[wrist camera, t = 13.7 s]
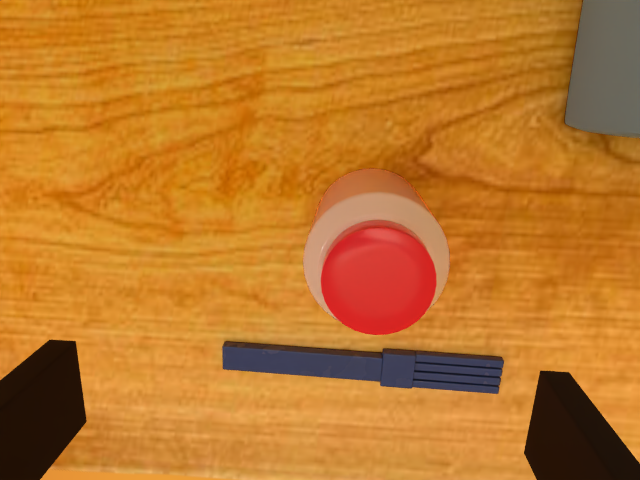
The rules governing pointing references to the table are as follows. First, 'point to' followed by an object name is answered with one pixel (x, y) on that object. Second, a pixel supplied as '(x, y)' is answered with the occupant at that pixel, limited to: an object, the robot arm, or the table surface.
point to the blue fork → (371, 366)
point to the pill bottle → (375, 253)
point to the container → (606, 69)
